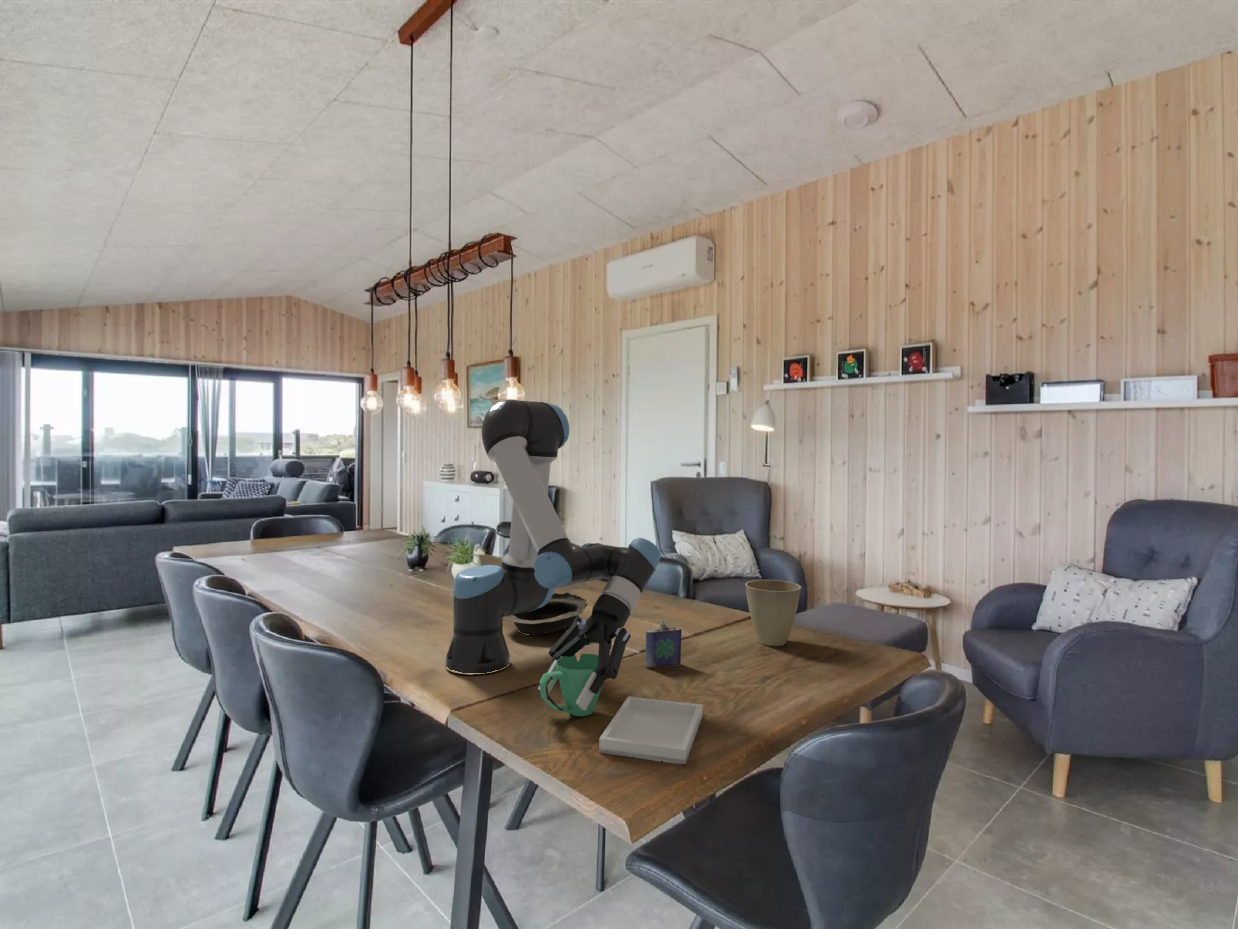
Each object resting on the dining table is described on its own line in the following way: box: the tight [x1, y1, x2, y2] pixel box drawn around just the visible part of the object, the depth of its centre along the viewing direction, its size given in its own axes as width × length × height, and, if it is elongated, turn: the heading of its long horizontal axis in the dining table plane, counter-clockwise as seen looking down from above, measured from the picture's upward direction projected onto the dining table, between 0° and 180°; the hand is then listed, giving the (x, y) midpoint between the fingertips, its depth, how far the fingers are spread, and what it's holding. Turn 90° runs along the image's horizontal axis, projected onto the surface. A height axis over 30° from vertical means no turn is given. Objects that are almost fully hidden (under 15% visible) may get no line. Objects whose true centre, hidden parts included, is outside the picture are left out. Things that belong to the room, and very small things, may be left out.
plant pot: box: [744, 579, 802, 647], centre depth 176 cm, size 15×15×16 cm
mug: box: [538, 653, 602, 717], centre depth 125 cm, size 15×10×10 cm
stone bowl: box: [504, 592, 589, 636], centre depth 186 cm, size 25×25×9 cm
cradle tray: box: [598, 695, 703, 765], centre depth 118 cm, size 15×20×2 cm
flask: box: [644, 620, 682, 669], centre depth 156 cm, size 9×3×11 cm, turn 109°
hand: (561, 699), depth 123 cm, fingers closed on mug, 10 cm apart
